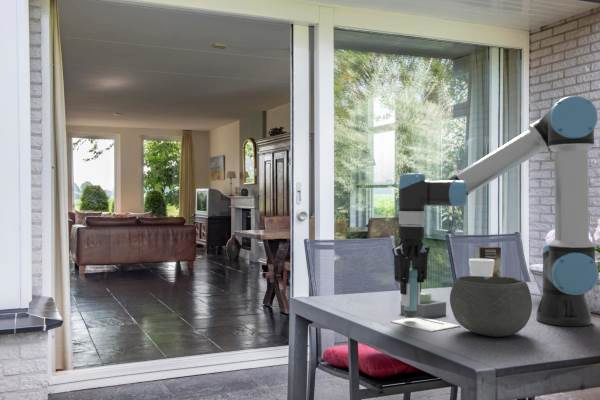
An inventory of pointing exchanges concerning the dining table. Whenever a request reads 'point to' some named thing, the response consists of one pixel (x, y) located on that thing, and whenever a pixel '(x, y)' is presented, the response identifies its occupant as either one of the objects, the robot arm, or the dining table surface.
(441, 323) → the paper
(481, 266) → the foam cup
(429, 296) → the button
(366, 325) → the dining table surface
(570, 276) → the robot arm
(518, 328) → the bowl
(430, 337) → the dining table surface
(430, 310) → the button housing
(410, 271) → the marker
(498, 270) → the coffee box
